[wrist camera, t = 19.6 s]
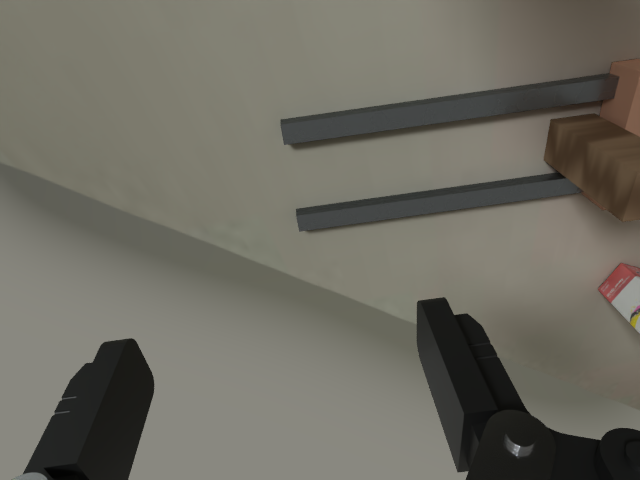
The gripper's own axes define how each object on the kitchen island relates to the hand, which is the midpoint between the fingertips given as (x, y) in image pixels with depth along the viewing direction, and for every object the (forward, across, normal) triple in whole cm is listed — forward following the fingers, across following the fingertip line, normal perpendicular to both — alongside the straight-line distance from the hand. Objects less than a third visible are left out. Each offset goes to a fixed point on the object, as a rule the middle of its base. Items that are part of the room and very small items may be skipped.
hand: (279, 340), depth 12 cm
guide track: (+33, -15, +10) cm, 38 cm away
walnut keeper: (+33, -28, +10) cm, 45 cm away
